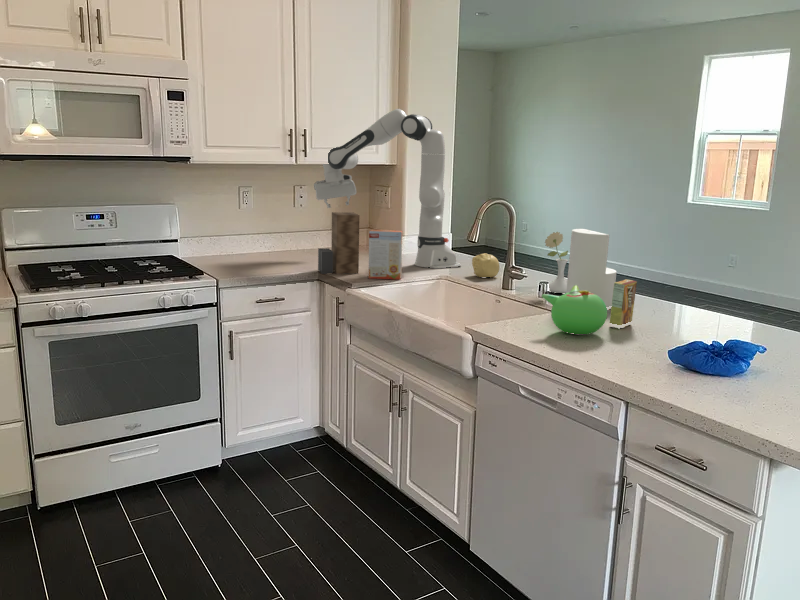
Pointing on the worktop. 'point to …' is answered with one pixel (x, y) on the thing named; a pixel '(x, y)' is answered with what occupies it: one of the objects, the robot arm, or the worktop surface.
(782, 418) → the worktop surface
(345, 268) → the walnut stand
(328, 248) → the domino
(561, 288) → the flower in vase
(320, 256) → the domino
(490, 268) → the pale yellow lumpy ball
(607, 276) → the cylinder
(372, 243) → the cracker box
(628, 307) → the candy box
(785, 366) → the worktop surface
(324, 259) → the domino
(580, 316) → the round teapot
